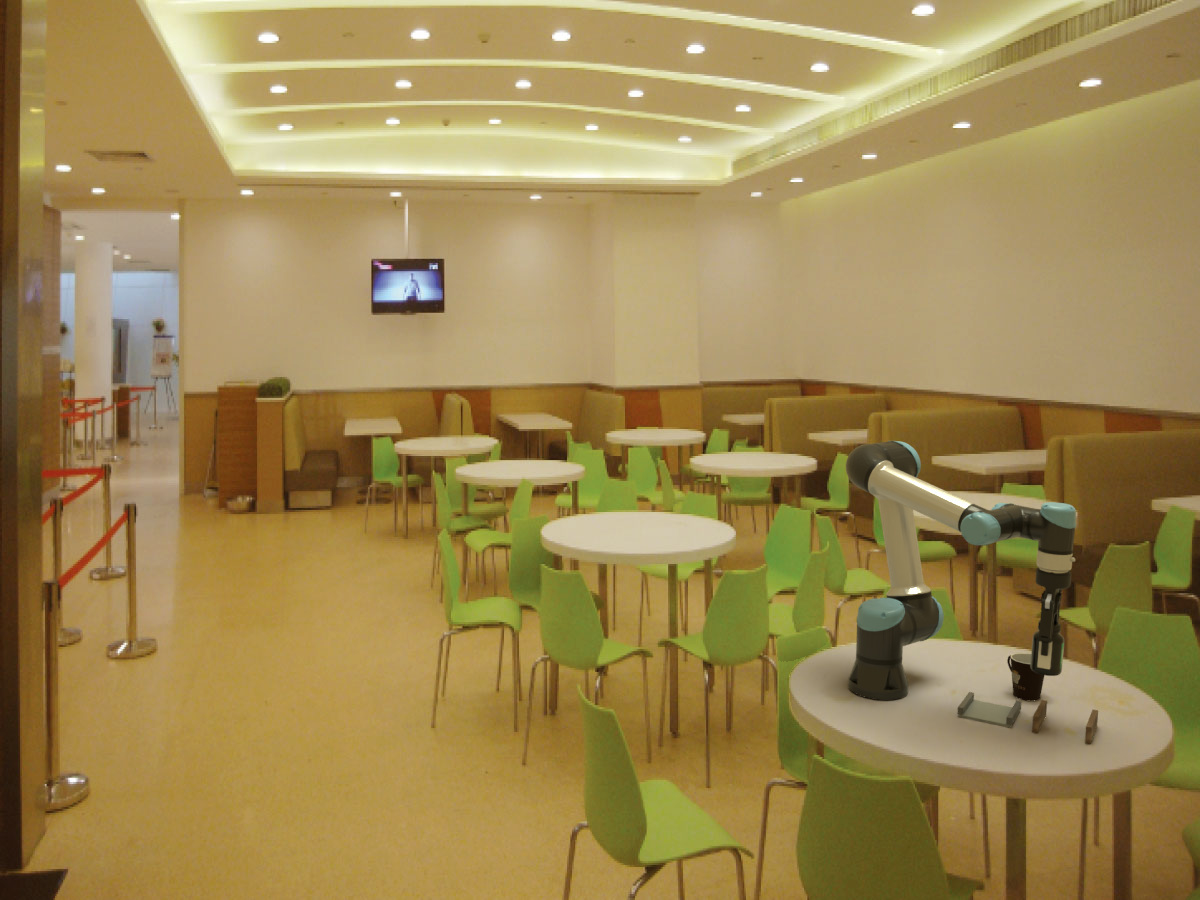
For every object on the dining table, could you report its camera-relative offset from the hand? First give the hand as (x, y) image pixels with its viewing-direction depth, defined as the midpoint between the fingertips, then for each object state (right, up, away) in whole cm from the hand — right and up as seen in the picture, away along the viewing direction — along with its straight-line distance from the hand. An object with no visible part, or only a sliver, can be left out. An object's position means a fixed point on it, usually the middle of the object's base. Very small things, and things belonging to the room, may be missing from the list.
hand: (1046, 662), depth 233 cm
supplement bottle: (0, -2, 0) cm, 2 cm away
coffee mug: (+4, -13, +21) cm, 25 cm away
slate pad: (-10, -14, +8) cm, 19 cm away
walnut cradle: (+4, -16, -1) cm, 16 cm away
